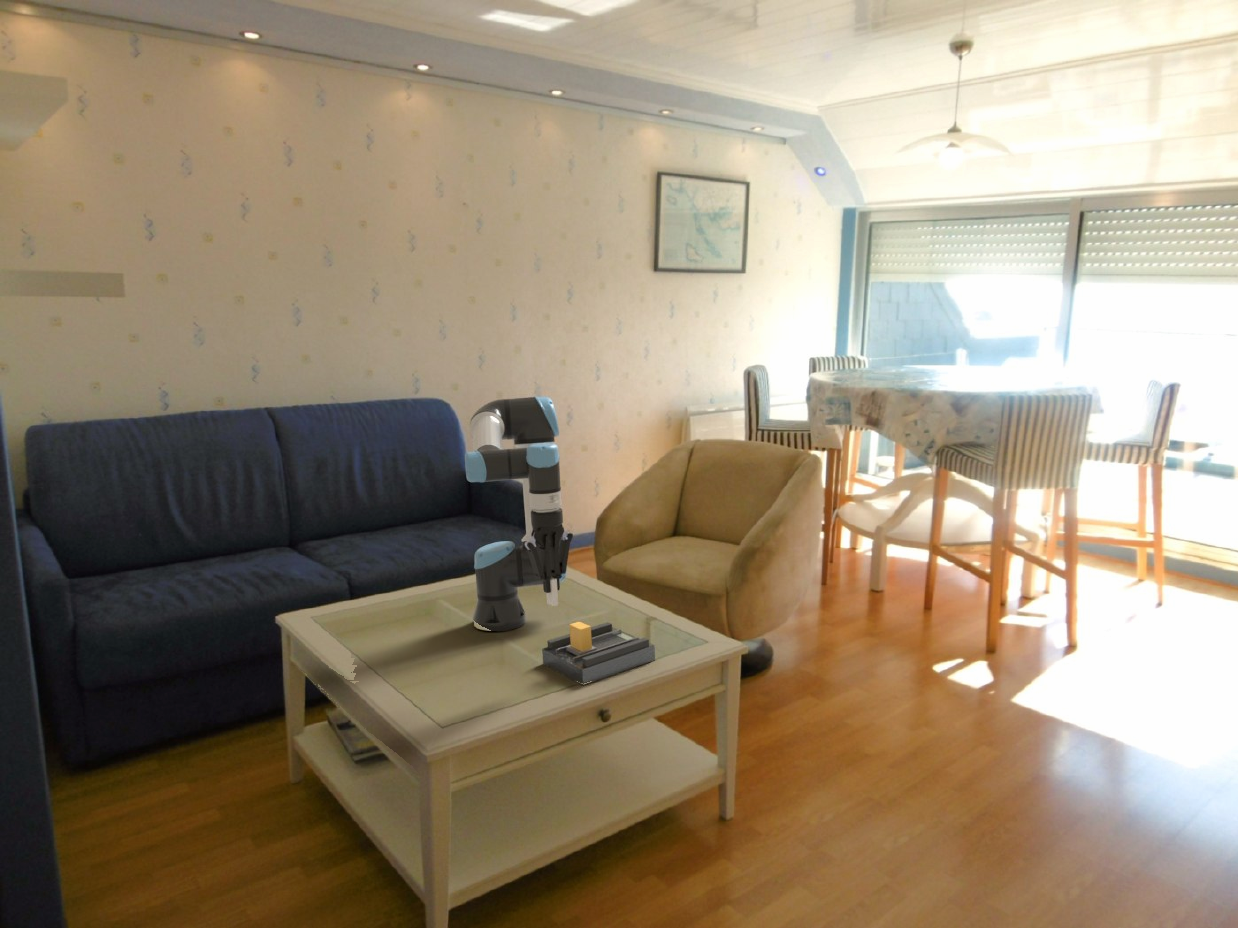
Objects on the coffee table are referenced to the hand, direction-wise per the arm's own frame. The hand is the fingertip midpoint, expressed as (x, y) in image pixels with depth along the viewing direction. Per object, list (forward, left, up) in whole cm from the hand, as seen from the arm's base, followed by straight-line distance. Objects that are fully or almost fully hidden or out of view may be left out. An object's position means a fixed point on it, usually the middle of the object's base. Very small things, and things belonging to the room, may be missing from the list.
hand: (552, 604), depth 211 cm
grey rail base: (0, +13, -18) cm, 22 cm away
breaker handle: (0, +8, -14) cm, 16 cm away
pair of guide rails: (0, +13, -14) cm, 19 cm away
